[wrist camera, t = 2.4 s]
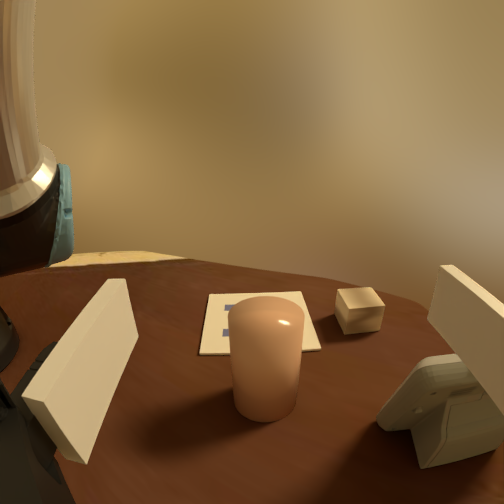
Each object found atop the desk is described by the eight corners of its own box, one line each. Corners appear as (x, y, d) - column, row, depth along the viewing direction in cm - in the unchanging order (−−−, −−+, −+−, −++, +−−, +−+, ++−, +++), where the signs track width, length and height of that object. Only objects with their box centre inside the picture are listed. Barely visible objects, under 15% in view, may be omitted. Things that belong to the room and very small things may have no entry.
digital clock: (503, 397, 22) (544, 317, 18) (520, 460, 14) (582, 377, 10) (375, 395, 27) (401, 306, 23) (368, 468, 19) (411, 383, 15)
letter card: (199, 355, 34) (199, 353, 34) (209, 295, 47) (209, 294, 47) (320, 350, 34) (321, 348, 34) (300, 293, 47) (300, 291, 47)
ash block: (344, 335, 37) (348, 308, 35) (334, 314, 41) (337, 289, 40) (379, 331, 37) (385, 305, 35) (366, 311, 42) (370, 287, 40)
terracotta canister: (233, 423, 25) (226, 339, 21) (234, 379, 30) (228, 297, 26) (300, 419, 25) (311, 335, 21) (291, 376, 30) (297, 294, 27)
